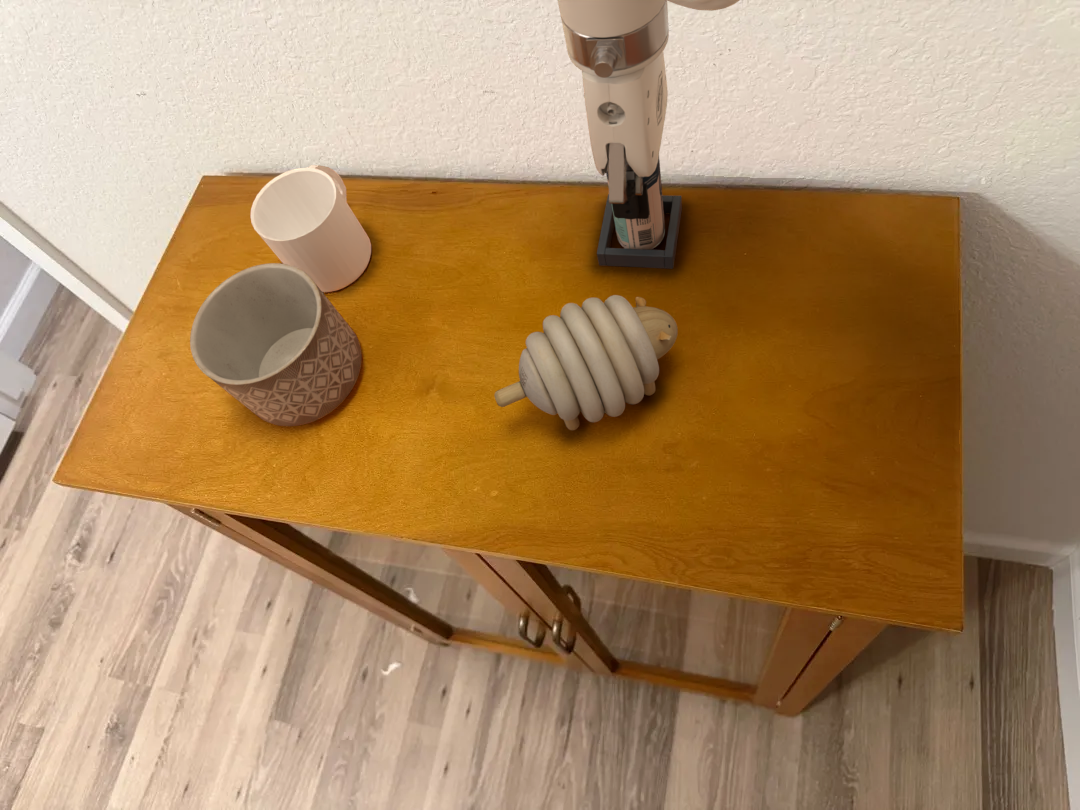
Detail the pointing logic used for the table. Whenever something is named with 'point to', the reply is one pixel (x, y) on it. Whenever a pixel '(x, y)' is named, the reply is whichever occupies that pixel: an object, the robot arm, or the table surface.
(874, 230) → the table surface
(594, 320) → the toy sheep
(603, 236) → the holder
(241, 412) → the table surface
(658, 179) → the beer can
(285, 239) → the mug
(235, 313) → the planter
